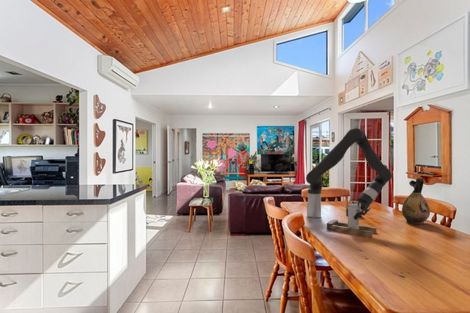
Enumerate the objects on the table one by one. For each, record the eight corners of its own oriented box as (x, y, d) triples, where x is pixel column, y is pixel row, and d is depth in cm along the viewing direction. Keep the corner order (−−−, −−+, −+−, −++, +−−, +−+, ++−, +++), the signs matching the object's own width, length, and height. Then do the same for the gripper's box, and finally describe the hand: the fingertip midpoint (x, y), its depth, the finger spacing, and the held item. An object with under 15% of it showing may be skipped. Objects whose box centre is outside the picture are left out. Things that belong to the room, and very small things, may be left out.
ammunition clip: (361, 216, 194) (361, 200, 194) (361, 216, 193) (361, 200, 192) (346, 215, 199) (346, 199, 199) (346, 215, 197) (345, 199, 197)
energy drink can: (349, 227, 160) (349, 203, 160) (360, 229, 157) (360, 204, 156) (346, 229, 156) (346, 204, 156) (357, 231, 152) (357, 205, 152)
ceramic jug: (421, 227, 164) (421, 179, 164) (396, 221, 178) (396, 177, 178) (436, 223, 172) (436, 178, 172) (411, 218, 186) (411, 176, 186)
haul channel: (326, 229, 160) (326, 223, 160) (333, 225, 169) (333, 219, 169) (371, 237, 144) (371, 230, 144) (376, 232, 153) (376, 225, 153)
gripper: (355, 190, 165) (339, 210, 162) (373, 194, 151) (355, 216, 148) (363, 198, 166) (346, 218, 163) (380, 203, 152) (363, 224, 149)
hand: (350, 217), depth 156 cm, fingers closed on energy drink can, 6 cm apart
